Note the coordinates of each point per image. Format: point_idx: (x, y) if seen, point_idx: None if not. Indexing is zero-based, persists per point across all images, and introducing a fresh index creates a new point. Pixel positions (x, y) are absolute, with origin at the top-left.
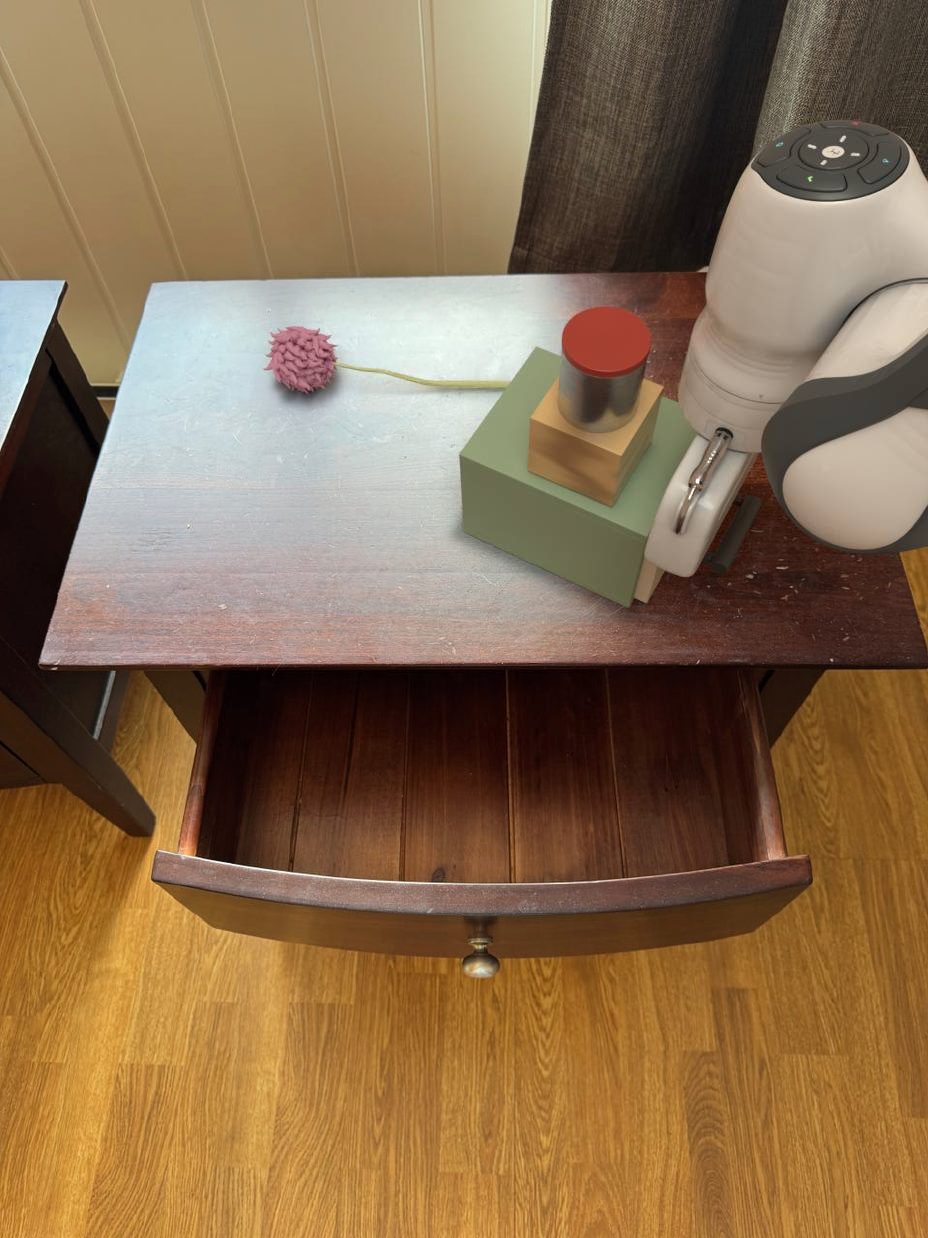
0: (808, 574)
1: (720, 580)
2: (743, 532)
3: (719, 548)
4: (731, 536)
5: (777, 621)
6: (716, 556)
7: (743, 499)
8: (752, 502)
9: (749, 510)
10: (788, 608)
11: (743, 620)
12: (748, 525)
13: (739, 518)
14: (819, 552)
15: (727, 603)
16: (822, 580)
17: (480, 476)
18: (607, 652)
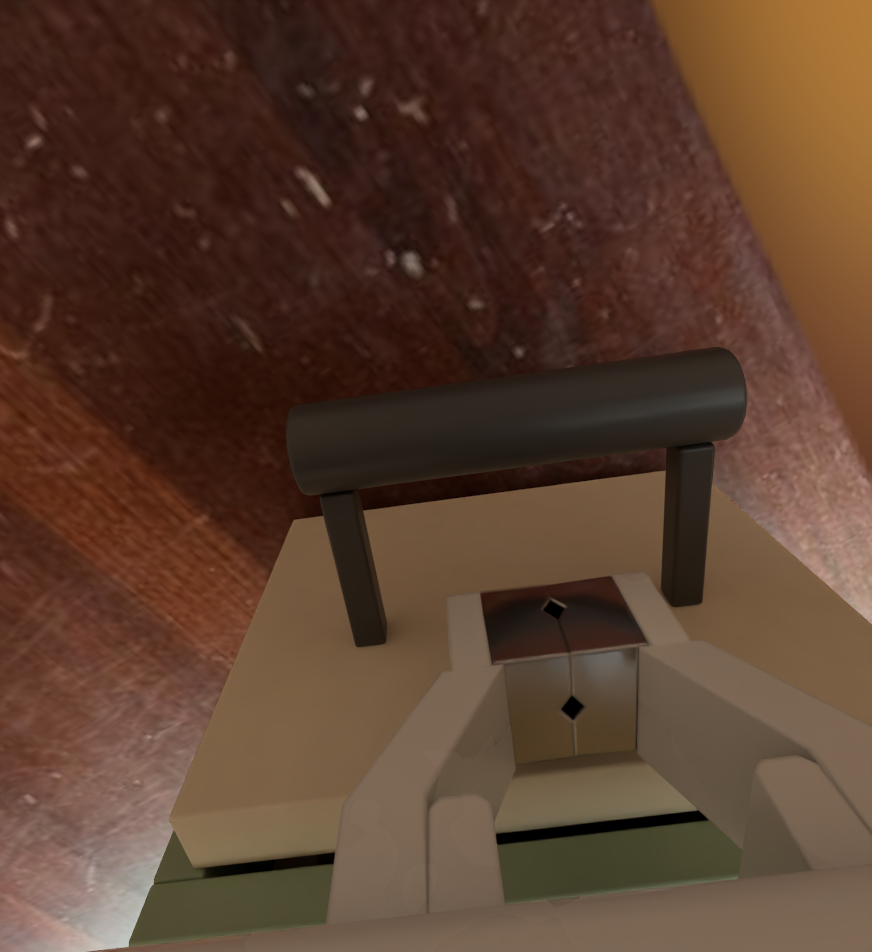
0: (273, 82)
1: (479, 333)
2: (511, 405)
3: (650, 447)
4: (573, 440)
5: (516, 79)
6: (703, 436)
7: (328, 492)
8: (331, 460)
9: (381, 447)
10: (445, 72)
11: (573, 190)
12: (454, 405)
13: (453, 461)
14: (163, 96)
15: (542, 270)
16: (258, 15)
17: None
18: (845, 460)
